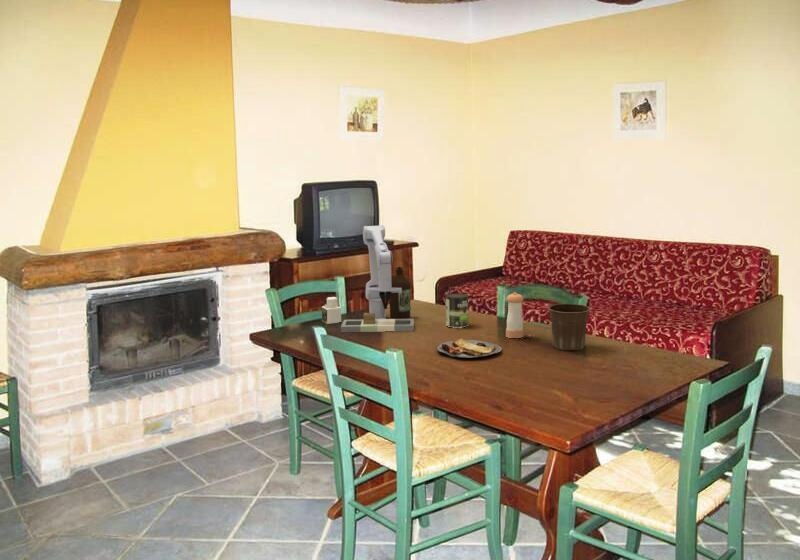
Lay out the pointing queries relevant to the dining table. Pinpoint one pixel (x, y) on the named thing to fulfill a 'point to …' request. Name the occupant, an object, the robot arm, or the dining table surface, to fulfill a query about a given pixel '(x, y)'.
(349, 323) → the trap lane
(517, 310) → the pepper shaker
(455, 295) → the coffee can
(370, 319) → the walnut block
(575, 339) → the plant pot
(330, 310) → the medicine bottle
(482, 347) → the food plate
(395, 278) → the olive oil
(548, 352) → the dining table surface
